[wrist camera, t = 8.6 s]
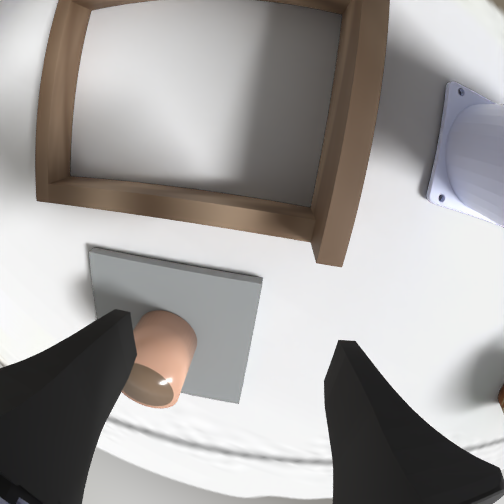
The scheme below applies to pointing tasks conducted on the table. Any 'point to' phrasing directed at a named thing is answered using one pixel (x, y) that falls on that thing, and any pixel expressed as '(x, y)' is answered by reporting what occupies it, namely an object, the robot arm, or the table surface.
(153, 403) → the clay pot
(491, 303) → the table surface
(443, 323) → the table surface
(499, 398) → the food container
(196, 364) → the potting mat
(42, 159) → the frame
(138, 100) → the table surface
